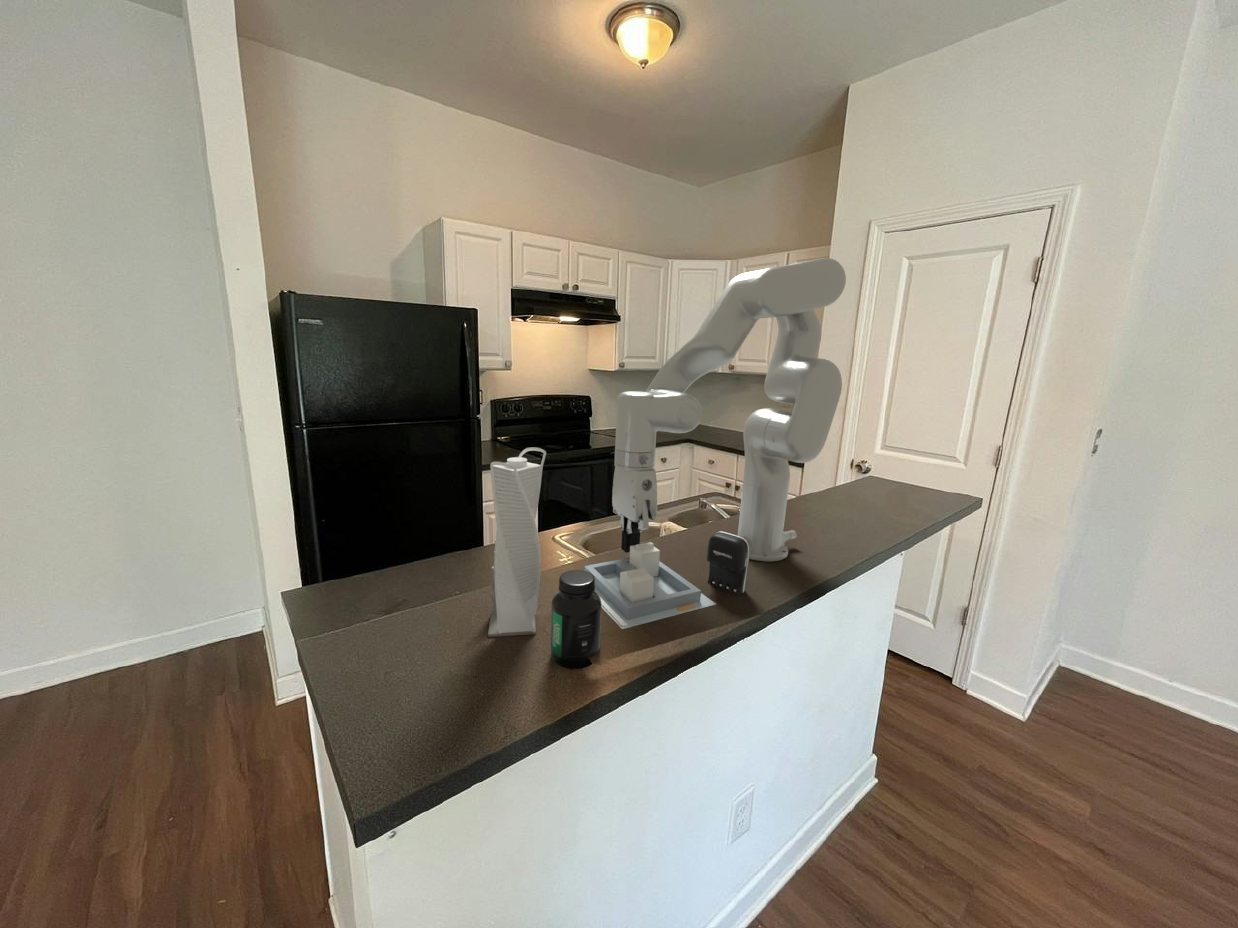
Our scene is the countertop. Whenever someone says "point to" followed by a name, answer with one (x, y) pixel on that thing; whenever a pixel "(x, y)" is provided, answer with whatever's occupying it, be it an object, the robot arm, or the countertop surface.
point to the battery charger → (728, 561)
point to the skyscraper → (515, 546)
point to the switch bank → (667, 599)
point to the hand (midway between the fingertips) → (630, 549)
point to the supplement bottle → (575, 620)
